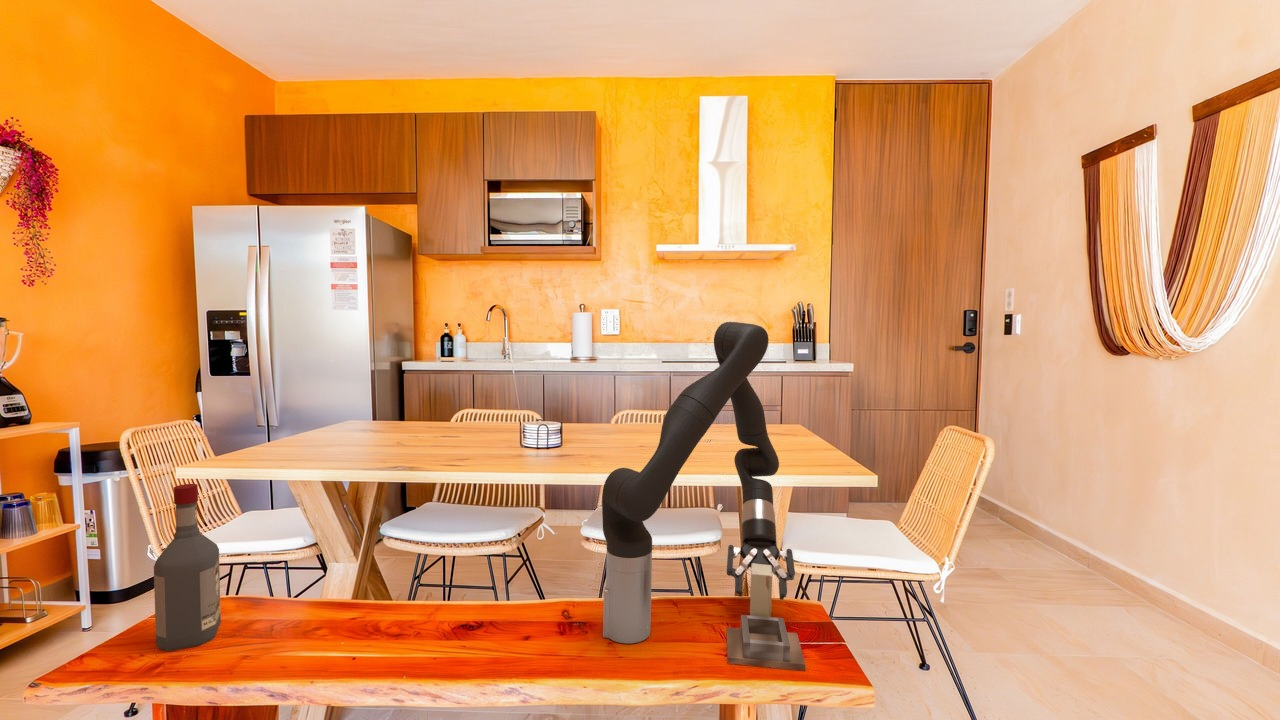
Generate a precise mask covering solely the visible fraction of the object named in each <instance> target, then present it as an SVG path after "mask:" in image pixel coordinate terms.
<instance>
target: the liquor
mask: <svg viewBox="0 0 1280 720" xmlns="http://www.w3.org/2000/svg"><path fill="white" fill-rule="evenodd" d="M198 486H199V485H198V484H197V483H185V484H179V485H175V486H174V487H173V504H174V505H175V532H174V534H173V539H172V540H171V541H170V543H169V544H167V546H166V547H165V548H164V550H163V551H162V552H161V554H159V556H158V558H157V559H156V560H155V563H154V566H153V585H154V586H153V588H154V589H153V590H154V618H155V621H154V623H155V646H156V647H157V648H158V649H159V650H160V651H161V650H162V651H165V652H173V651H178V650H184V649H189V648H194V647H200V646H202V645H204V644H206V643H208V642H210V641H212V640H214V639H215V637H216V635H217V633H218V630H219V627H220V625H221V623H222V622H221V621H222V620H221V615H222V613H221V581H220V580H221V579H220V575H221V574H220V573H221V571H220V548H219V546H218V545H217V543H215V542H214V541H212V540H211V539H209V538H208V537H207V536H205V535H204V534H203V533H201V532H200V528H199V525H198V506H197V505H198V504H197V502H198V501H199V494H198V493H199V491H198V490H199V488H198Z"/></svg>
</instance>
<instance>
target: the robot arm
mask: <svg viewBox="0 0 1280 720" xmlns="http://www.w3.org/2000/svg"><path fill="white" fill-rule="evenodd" d="M768 347H769V334H768V332H767V330H766V329H765V328H764V327H763V326H760V325H758V324H753V323H746V322H737V321H726V322H723V323H721V324H720V325H719V326H718V327H717V328H716V331H715V333H714V337H713V348H714V353H715V355H716V356H715V357H716V359H717V361H718V365H719V366H718V367H716V368H715V369H714V370H713V371H710V372H709V373H708V374H706V375H704V376H703V377H701V378H698V379H697V380H696V381H694V382H693V383H691V384H690V385H688V386H687V387H685V388H684V389H683V390H682V391H681V392H680V394H679V395H678V396H677V397H676V399H675V400H674V401H673V403H672V404H671V405H670V407H669V408H668V409H667V411H666V413H665V415H664V418H663V422H662V426H661V430H660V435H659V442H658V445H657V448H656V450H655V452H654V453H653V455H652V456H651V458H650V459H649V461H648V462H647V463H646V464H645V466H644V467H643V468H642V470H640V471H638V470H635V469H632V468H628V467H619V468H616V469H613V470H612V471H611V472H610V473H609V474H608V475H607V477H606V479H605V481H604V485H603V488H602V493H601V495H602V496H601V497H602V498H601V513H602V514H601V515H602V531H603V532H602V533H603V537H604V538H605V541H606V562H605V563H606V565H605V566H606V571H605V572H606V575H605V579H606V580H605V587H604V590H603V607H602V608H603V612H602V613H603V614H602V615H603V616H602V619H603V621H602V622H603V623H602V637H603V638H607V639H609V640H611V641H613V642H616V643H620V644H637V643H641V642H643V641H644V640H646V639H648V637H650V636H651V627H652V623H651V622H652V621H651V620H652V619H651V618H652V616H651V615H652V581H653V580H652V579H653V577H652V569H653V537H652V535H651V533H650V532H649V530H648V529H647V527H646V526H645V524H644V522H645V521H647V520H649V519H650V518H652V516H653V515H654V514H655V513H656V512H657V511H658V509H659V508H660V506H661V505H662V503H663V501H664V500H665V498H666V496H667V494H668V492H669V490H670V489H671V487H672V485H673V483H674V482H675V480H676V478H677V476H678V474H679V473H680V471H681V469H682V468H683V466H684V465H685V463H686V462H687V461H688V459H689V458H690V455H691V454H692V452H693V451H694V449H695V448H696V447H697V446H698V445H699V442H700V441H701V440H702V439H703V437H704V436H705V434H706V433H707V431H708V430H709V429H710V427H711V426H712V424H713V423H714V422H715V420H717V419H716V418H717V417H718V415H719V414H720V412H721V411H722V409H723V408H724V407H725V405H726V404H727V403H728V402H729V400H730V401H731V404H732V409H733V415H734V421H735V427H736V434H737V438H738V441H739V442H740V443H741V444H743V445H747V446H750V447H746V448H745V447H744V448H740V449H739V450H737V451H736V454H735V455H734V460H733V461H734V465H735V470H736V472H737V475H738V477H739V481H740V484H741V490H742V492H741V493H742V510H741V511H742V512H741V520H740V521H741V536H742V537H741V546H740V547H734V545H733V544H729V545H728V547H727V548H728V549H727V561H726V562H727V563H726V576H731V577H733V578H734V592H735V594H737V595H738V597H743V575H744V574H745V573H747V571H748V570H749V568H750V569H751V564H752V563H755V564H765V565H771V566H772V575H775V577H776V578H777V579H778V580H779V581H778V590H779V592H778V593H779V600H781V601H783V600H785V598H787V594H788V586H787V585H788V584H787V582H789V581H794V579H795V575H796V570H795V564H794V562H795V561H794V556H793V550H792V549H791V548H787V549H786V550H779V548H778V544H777V527H776V514H775V513H776V512H775V507H774V495H773V494H774V493H773V486H772V484H771V483H770V482H769V481H767V480H765V479H762V478H761V479H760V478H757V477H772V476H775V474H776V473H777V472H778V470H779V468H780V461H779V457H778V454H777V452H776V449H775V448H774V446H773V444H772V441H771V440H770V437H769V433H768V429H767V424H766V415H765V411H764V406H763V404H762V402H761V399H760V398H759V396H758V394H757V392H755V390H754V387H753V386H752V384H751V383H750V381H749V379H748V376H750V374H751V373H752V372H753V371H754V370H755V368H757V366H758V365H759V364H760V362H761V361H762V360H763V358H764V357H765V355H766V352H767V350H768ZM751 446H753V447H751ZM738 555H740V556H741V558H742V559H743V560H742V562H741V563H740V564H739V566H738V567H737V568H733V567H734V559H736V558H737V557H738ZM779 558H781V559H782V561H783V562H785V564H786V572H785V570H784V569H783V568H782V567H781V565H780V563H779V562H778V561H777V560H778V559H779Z"/></svg>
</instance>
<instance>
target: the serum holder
mask: <svg viewBox="0 0 1280 720" xmlns="http://www.w3.org/2000/svg"><path fill="white" fill-rule="evenodd" d="M726 652H727V654H728V655H727V664H728V663H732V664H731V665H735V664H741V665H740V666H746V665H751V666H750V667H757V666H764V667H763V668H768V667H771V668H770V669H781V670H791V671H792V670H793V671H803V672H805V671H806V660H805V658H804V654H803V650H802V646H801V643H800V640H799V635H798V633H797V632H787V628H786V623H785V619H784V618H783V617H773V616H771V617H762V616H750V614H749V615H747V614H741V615H740V627H739V628H738V627H727V626H726Z"/></svg>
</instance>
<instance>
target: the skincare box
mask: <svg viewBox="0 0 1280 720" xmlns="http://www.w3.org/2000/svg"><path fill="white" fill-rule="evenodd" d="M749 594H750V595H749V597H750V598H749V599H750V600H749V601H750V602H749V615H750V616H762V617H772V601H773V600H772V596H773V573H772V566H771V565H765V564H755V563H752V564H751V568H750V593H749Z"/></svg>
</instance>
